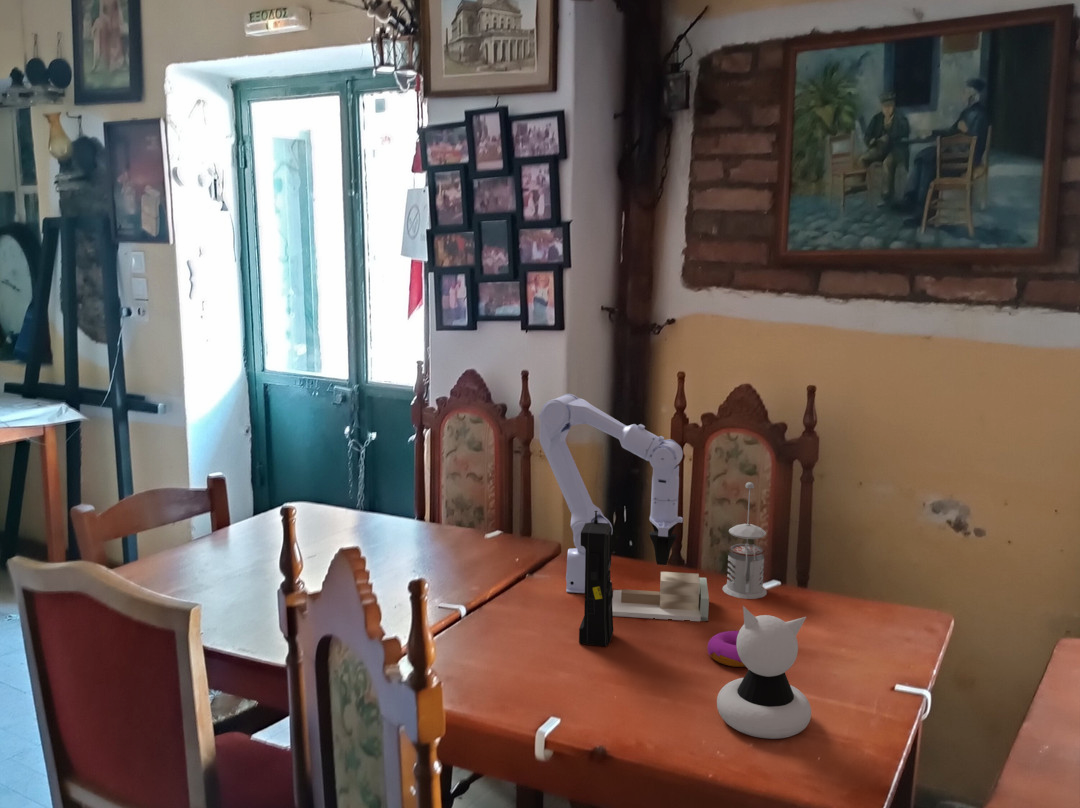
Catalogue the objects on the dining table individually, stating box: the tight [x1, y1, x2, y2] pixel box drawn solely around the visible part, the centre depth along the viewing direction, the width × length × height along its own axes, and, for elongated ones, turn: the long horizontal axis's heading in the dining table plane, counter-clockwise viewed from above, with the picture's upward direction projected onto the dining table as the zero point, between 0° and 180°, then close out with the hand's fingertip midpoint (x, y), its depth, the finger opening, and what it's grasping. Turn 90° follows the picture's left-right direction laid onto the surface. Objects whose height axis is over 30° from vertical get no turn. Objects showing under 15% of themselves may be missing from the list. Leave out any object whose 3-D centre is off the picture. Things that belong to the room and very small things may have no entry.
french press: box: [722, 481, 768, 600], centre depth 196 cm, size 10×12×25 cm
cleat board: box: [612, 576, 710, 622], centre depth 189 cm, size 20×12×5 cm, turn 82°
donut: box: [707, 630, 746, 668], centre depth 165 cm, size 10×10×4 cm
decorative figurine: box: [716, 605, 812, 740], centre depth 142 cm, size 15×15×20 cm
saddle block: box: [659, 571, 700, 611], centre depth 188 cm, size 8×6×6 cm
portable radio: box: [578, 511, 615, 647], centre depth 171 cm, size 8×6×25 cm
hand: (662, 558), depth 193 cm, fingers open, 7 cm apart
